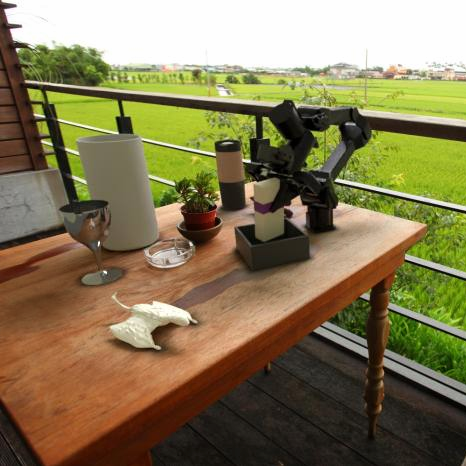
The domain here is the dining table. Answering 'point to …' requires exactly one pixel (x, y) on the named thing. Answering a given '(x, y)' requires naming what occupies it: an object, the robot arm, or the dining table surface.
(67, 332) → the dining table surface
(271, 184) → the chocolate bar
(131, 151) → the cylinder vase
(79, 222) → the silver goblet
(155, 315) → the winged dragon toy
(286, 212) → the brown animal figurine
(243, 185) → the travel mug
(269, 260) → the open storage bin
